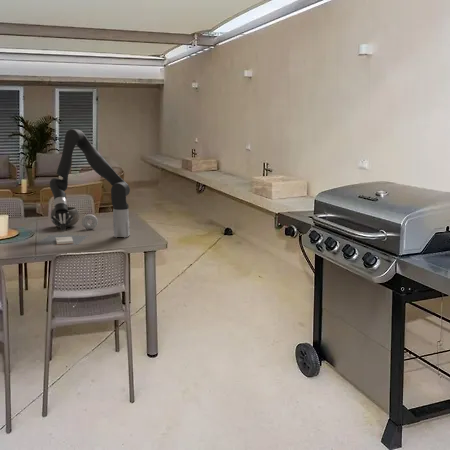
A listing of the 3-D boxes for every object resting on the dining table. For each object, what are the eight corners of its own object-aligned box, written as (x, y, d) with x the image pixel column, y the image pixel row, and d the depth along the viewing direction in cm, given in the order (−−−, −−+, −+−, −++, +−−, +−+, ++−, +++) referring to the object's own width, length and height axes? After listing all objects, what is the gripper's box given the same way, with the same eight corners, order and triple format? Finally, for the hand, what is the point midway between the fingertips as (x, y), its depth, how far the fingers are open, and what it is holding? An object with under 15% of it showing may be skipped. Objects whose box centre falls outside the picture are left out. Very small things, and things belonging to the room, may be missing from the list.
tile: (55, 237, 312) (56, 241, 301) (71, 236, 315) (73, 240, 304) (55, 240, 312) (56, 244, 301) (71, 239, 315) (73, 243, 304)
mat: (88, 236, 326) (88, 235, 326) (78, 245, 302) (78, 244, 302) (49, 235, 326) (49, 235, 325) (35, 244, 302) (35, 244, 302)
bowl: (83, 224, 361) (82, 206, 359) (73, 230, 343) (72, 210, 341) (58, 224, 363) (57, 205, 360) (46, 229, 345) (45, 210, 343)
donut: (82, 230, 344) (81, 214, 342) (82, 229, 347) (81, 214, 345) (98, 229, 346) (97, 214, 344) (98, 228, 349) (97, 213, 347)
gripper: (49, 203, 314) (51, 227, 305) (72, 202, 319) (75, 226, 310) (49, 210, 320) (51, 234, 311) (72, 209, 325) (74, 233, 316)
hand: (63, 230), depth 310 cm, fingers closed
